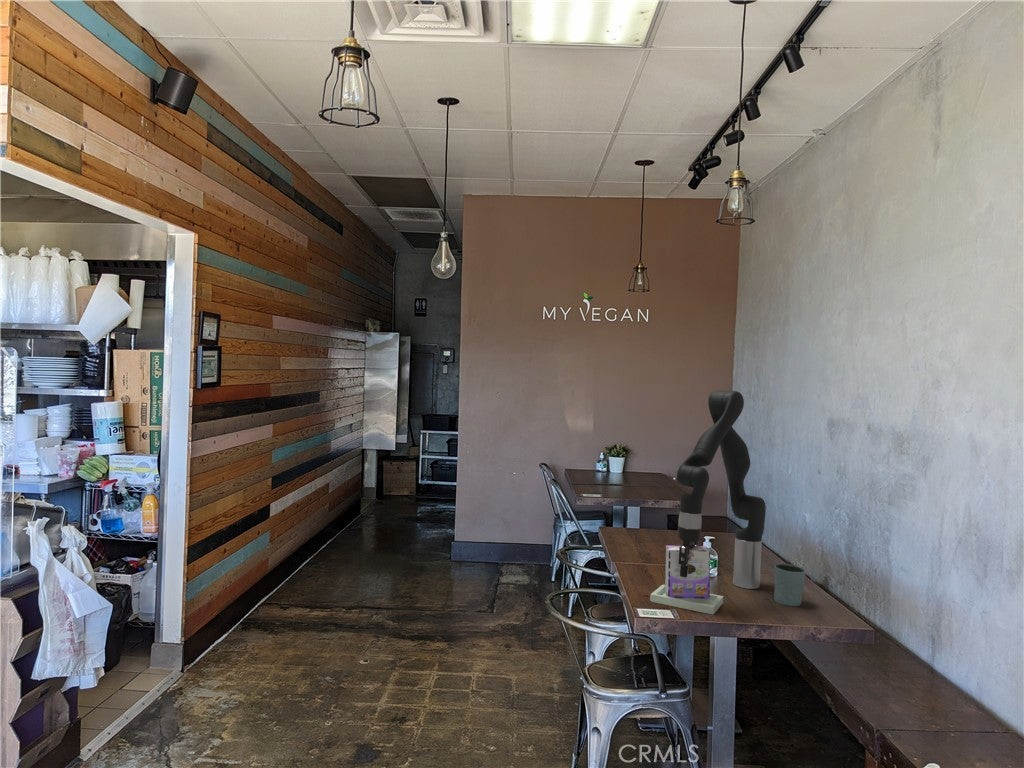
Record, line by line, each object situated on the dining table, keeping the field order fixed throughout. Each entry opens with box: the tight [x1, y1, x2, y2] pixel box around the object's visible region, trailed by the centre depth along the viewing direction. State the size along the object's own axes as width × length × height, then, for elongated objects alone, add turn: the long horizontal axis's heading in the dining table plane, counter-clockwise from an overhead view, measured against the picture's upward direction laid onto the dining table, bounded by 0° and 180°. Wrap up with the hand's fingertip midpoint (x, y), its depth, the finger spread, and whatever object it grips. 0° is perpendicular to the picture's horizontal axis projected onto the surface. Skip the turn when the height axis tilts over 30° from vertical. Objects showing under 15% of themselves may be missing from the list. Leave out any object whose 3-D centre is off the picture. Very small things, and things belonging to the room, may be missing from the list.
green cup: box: [773, 563, 807, 607], centre depth 232 cm, size 10×10×12 cm
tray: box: [649, 584, 724, 615], centre depth 226 cm, size 14×21×2 cm, turn 61°
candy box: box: [664, 545, 711, 599], centre depth 226 cm, size 14×6×16 cm, turn 87°
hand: (686, 574), depth 226 cm, fingers closed on candy box, 7 cm apart
